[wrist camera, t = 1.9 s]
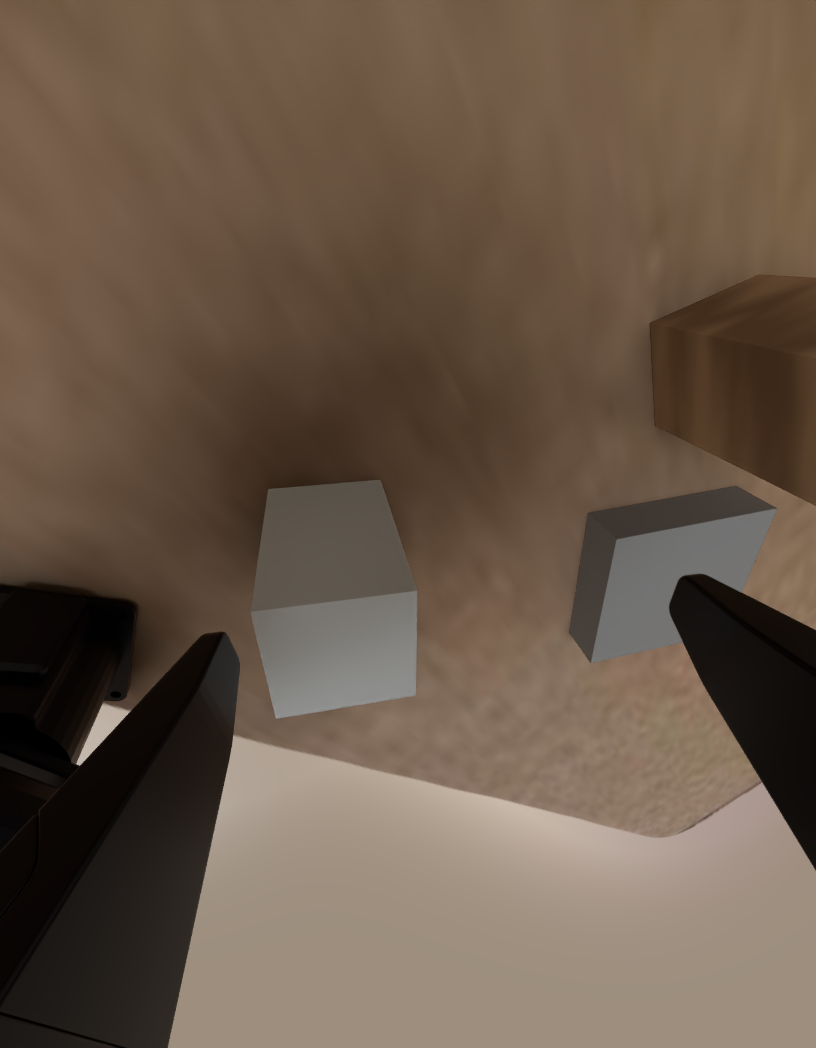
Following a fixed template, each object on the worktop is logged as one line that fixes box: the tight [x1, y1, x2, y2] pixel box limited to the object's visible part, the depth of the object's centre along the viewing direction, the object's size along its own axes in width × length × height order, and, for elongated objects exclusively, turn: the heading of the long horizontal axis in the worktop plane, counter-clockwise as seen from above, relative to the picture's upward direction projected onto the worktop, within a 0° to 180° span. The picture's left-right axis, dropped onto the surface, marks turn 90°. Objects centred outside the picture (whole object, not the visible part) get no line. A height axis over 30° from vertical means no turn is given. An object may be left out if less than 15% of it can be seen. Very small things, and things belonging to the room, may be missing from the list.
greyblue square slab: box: [569, 486, 777, 663], centre depth 26 cm, size 9×9×3 cm
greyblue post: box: [250, 480, 418, 719], centre depth 18 cm, size 5×5×8 cm
